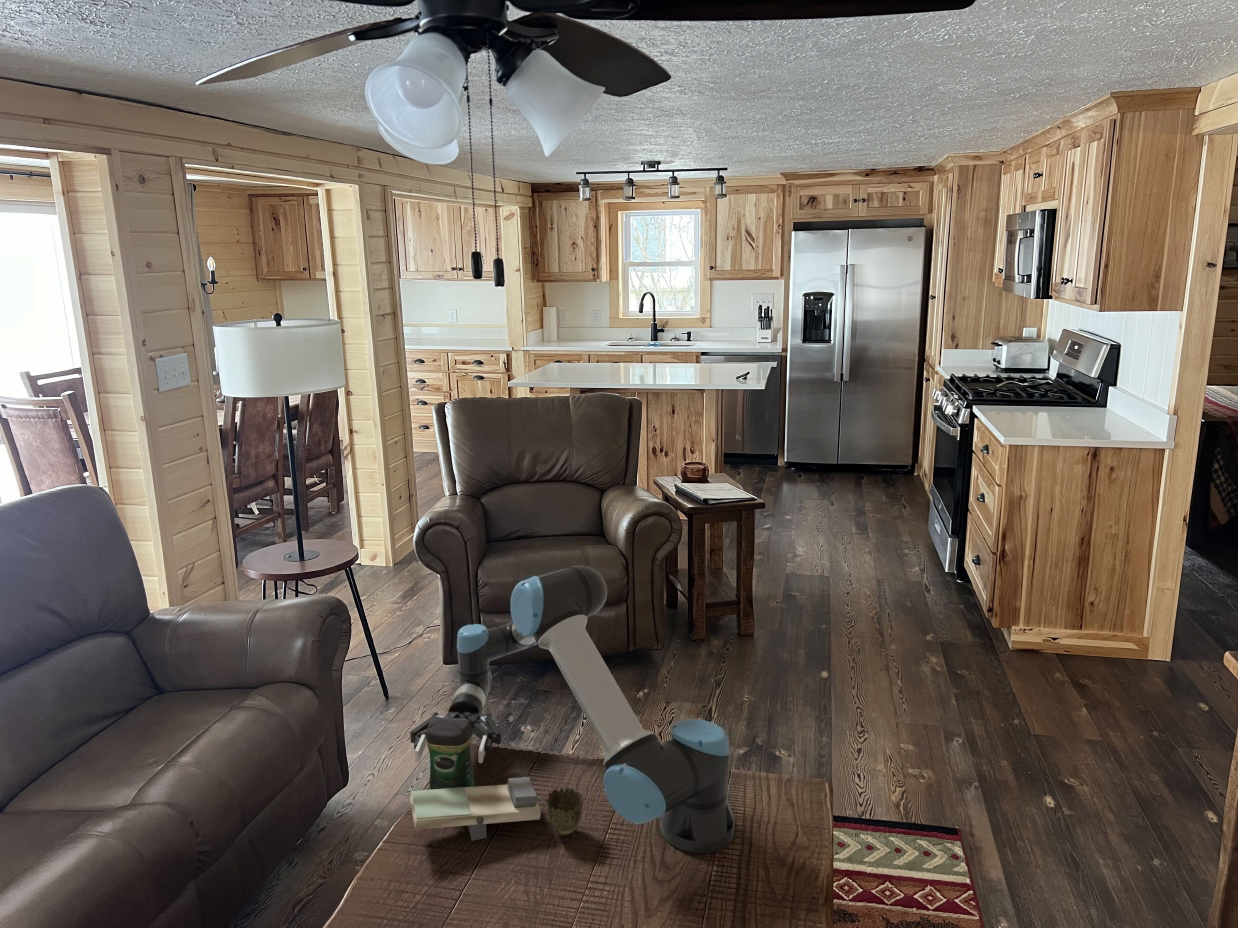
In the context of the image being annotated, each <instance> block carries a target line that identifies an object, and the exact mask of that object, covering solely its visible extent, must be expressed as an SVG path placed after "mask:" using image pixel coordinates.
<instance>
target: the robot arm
mask: <svg viewBox="0 0 1238 928" xmlns="http://www.w3.org/2000/svg"><path fill="white" fill-rule="evenodd" d="M513 588H514V589H513V590H512V592H511V596H510V615H511V620H512V621H510V622H508V623H505V624H502V625H499V626H496V627H492V628H487V627H486V626H485V625H483V624H479V623H474V624H467V625H464V626H462V627H461V628H460V629H459V630H457V631H458V632H457V638H456V650H457V664H458V668H457V669H458V671H457V672H458V673H457V675H458V687H457V689H456V691H455V694H454V696H453V699H452V701H451V703H450V706H449V708H448V712H447V713H446V714H445V715H439V712H433V713H432V714H431V716H430V717H429V718H427V719H426V720H424V721H423V722H421V723H420V724H419V725H417V726H416V727H414V728H413V729H412V730H410V731H409V732H410V733H409V734H410V735H409V737H410V743H411V744H413V750H414V762H415V763H420V760H421V759H422V755H423V754H424V751H425V748H426V747H427V744H426V735H427V728H428V725H429V723H430V722H431V721H432V719H433V718H434V717H437V718H438V717H447V718H462V719H469V720H470V722H471V727H472V732H473V736H474V735H475V736H476V737H477V738H479V740H480V741H481V742H480V746H479V748H478V751H477V753H478V755H477V756H478V757H477V759H478V764H483V762H484V759H485V755H486V753H488V752H490V751H491V749H492V747H493V744H496V745H501V744H502V732H501V731H500V729H499V727H498V725H497V724H496V723H495V721H494V719H493V714H492V713H489V712H488V713H487V714H486V716H482V714H483V713H482V712H483V709H484V707H485V704H486V700H487V698H488V694H489V692H490V691H491V688H492V679H493V677H492V673H491V671H490V661H494V660H497V659H500V658H503V657H506V656H508V655H511V654H514V653H517V652H520V651H523V650H528V649H530V648H532V647H534V646H537V645H538V647H539V648H541V649H544V650H547V651H549V652H550V654H551V655H552V657H553V660H554V661H555V663H556V665H557V666H558V668H559V670H560V672H561V674H562V676H563V677H564V679H565V681H566V683H567V685H568V686H569V689H570V690H571V691H572V692H571V693H572V694H573V696H574V697H575V699H576V701H577V703H578V704H579V707H580V708H581V710H582V712H583V714H584V715H585V717H586V719H587V721H588V723H589V725H590V726H591V728H592V730H593V732H594V734H595V735H596V737H597V740H598V741H599V743H600V744H601V747H602V748H603V750H604V752H605V755H604V760H603V767H604V768H605V773H604V775H603V779H602V785H603V787H604V790H603V791H604V793H605V796H606V798H607V800H608V803H609V805H610V806H611V808H612V809H613V810H614V811H615V812H616V814H618V815H619V816H620V817H621V818H623V820H625V821H629V822H630V823H631V824H636V825H642V824H645V823H649V822H651V821H653V820H657V819H659V818H660V831H661V834H662V837H663V838H664V839H665V840H666V842H667V843H668V844H670V845H671V846H673V847H674V848H676V849H678V850H681V851H684V852H686V853H691V854H711V853H715V852H718V851H721V850H723V849H725V848H726V847H728V846H729V845H730V844H731V843H732V841H733V839H734V837H735V828H736V827H735V825H736V824H735V818H734V814H733V811H732V808H731V805H730V803H729V799H728V787H729V785H728V784H729V769H730V768H729V767H730V766H729V765H730V753H731V750H730V740H729V738H730V737H729V735H728V733H727V732H726V730H724V729H723V728H722V727H721V726H719V725H718V724H716V723H714V722H711V721H708V720H704V719H699V718H698V719H697V718H686V719H681V720H679V721H676V722H675V723H673V725H672V727H671V731H670V733H669V734H670V738H669V739H668V740H666V741H663V742H662V743H661V741H660V740H659V738H658V736H657V735H656V733H655V732H653V731H650V730H646V729H644V728H643V726H642V724H641V723H640V721H639V719H638V717H637V716H636V713H634V711H633V709H632V707H631V705H630V704H629V702H628V700H627V698H626V697H625V695H624V694H623V691H622V690H621V688H620V686H619V685H618V683H617V681H616V680H615V678H614V676H613V675H612V672H611V671H610V669H609V667H608V666H607V664H606V662H605V660H604V659H603V657H602V655H601V654H600V652H599V650H598V648H597V647H596V645H595V644H594V642H593V640H592V638H591V636H590V634H589V632H588V631H587V630H586V627H587V626H586V625H587V623H588V618H590V617H592V616H594V615H595V614H597V613H598V612H599V611H600V610H601V609H602V608H603V607H604V605H605V603H606V601H607V597H608V585H607V583H606V581H605V579H604V577H603V575H602V574H601V573H600V572H598V571H597V570H596V569H594V568H592V567H590V566H586V565H572V566H568V567H565V568H562V569H558V570H555V571H551V572H546V573H544V574H540V575H533V576H531V577H529V578H526V579H524V580H521V581H519V582H518V583H517V584H516V585H515V587H513ZM482 724H483V725H484V726H483V725H482Z"/></svg>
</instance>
